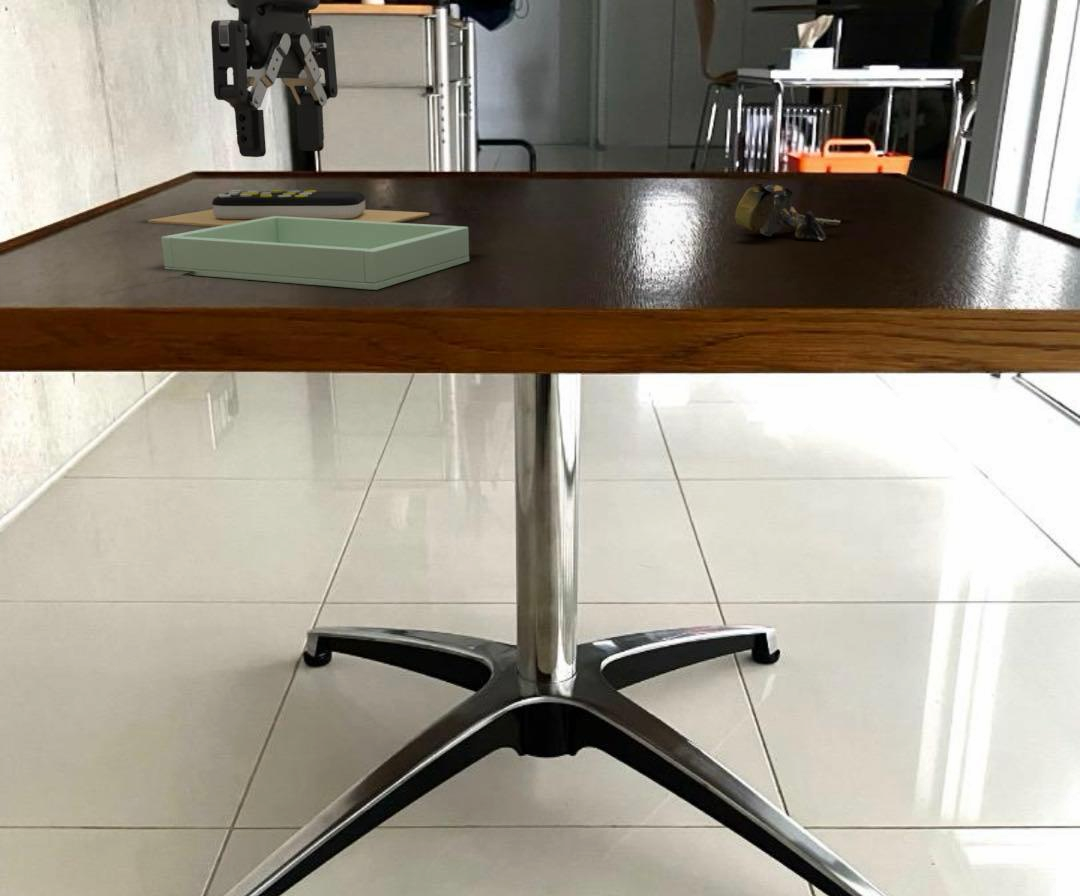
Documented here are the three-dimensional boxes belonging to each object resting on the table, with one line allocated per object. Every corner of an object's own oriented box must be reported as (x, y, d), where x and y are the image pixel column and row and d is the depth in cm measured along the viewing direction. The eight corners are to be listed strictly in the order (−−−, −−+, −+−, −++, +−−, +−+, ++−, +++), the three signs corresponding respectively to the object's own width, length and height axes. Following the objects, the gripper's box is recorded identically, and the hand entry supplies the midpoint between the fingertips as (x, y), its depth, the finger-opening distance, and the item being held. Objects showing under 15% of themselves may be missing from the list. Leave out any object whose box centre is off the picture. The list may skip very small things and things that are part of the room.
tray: (164, 273, 82) (160, 236, 81) (276, 248, 93) (273, 215, 92) (376, 290, 76) (374, 251, 75) (469, 261, 87) (468, 226, 86)
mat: (148, 225, 106) (147, 220, 105) (247, 208, 117) (247, 203, 117) (344, 238, 98) (344, 231, 98) (429, 218, 110) (429, 212, 110)
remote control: (357, 220, 104) (355, 196, 104) (209, 220, 105) (207, 196, 104) (368, 211, 110) (367, 189, 109) (228, 212, 111) (226, 189, 110)
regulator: (801, 230, 107) (700, 214, 96) (822, 186, 105) (721, 166, 94) (868, 267, 103) (771, 256, 92) (891, 223, 101) (794, 206, 90)
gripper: (283, -46, 107) (295, 148, 113) (175, -62, 95) (194, 156, 101) (356, -48, 104) (364, 151, 110) (254, -65, 92) (269, 160, 98)
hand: (283, 153), depth 105 cm, fingers open, 8 cm apart
